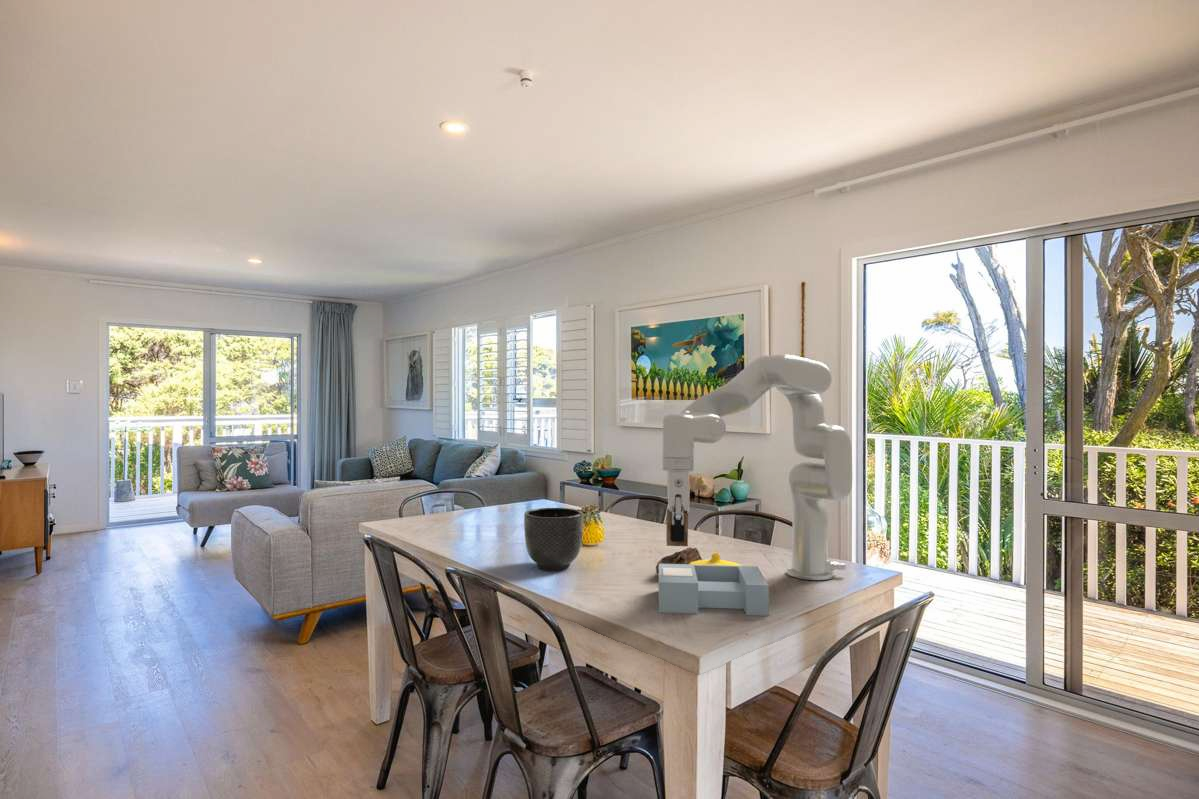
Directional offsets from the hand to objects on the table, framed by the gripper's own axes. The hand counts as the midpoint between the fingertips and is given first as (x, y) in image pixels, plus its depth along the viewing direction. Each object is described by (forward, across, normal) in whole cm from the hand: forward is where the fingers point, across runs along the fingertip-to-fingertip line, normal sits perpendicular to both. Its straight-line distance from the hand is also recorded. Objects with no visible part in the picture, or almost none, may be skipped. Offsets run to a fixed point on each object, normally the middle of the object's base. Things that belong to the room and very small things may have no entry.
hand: (677, 538), depth 162 cm
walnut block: (+1, 0, 0) cm, 1 cm away
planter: (+16, +29, +35) cm, 48 cm away
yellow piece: (+16, +21, -11) cm, 29 cm away
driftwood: (+16, +27, -3) cm, 31 cm away
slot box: (+16, 0, -8) cm, 18 cm away
